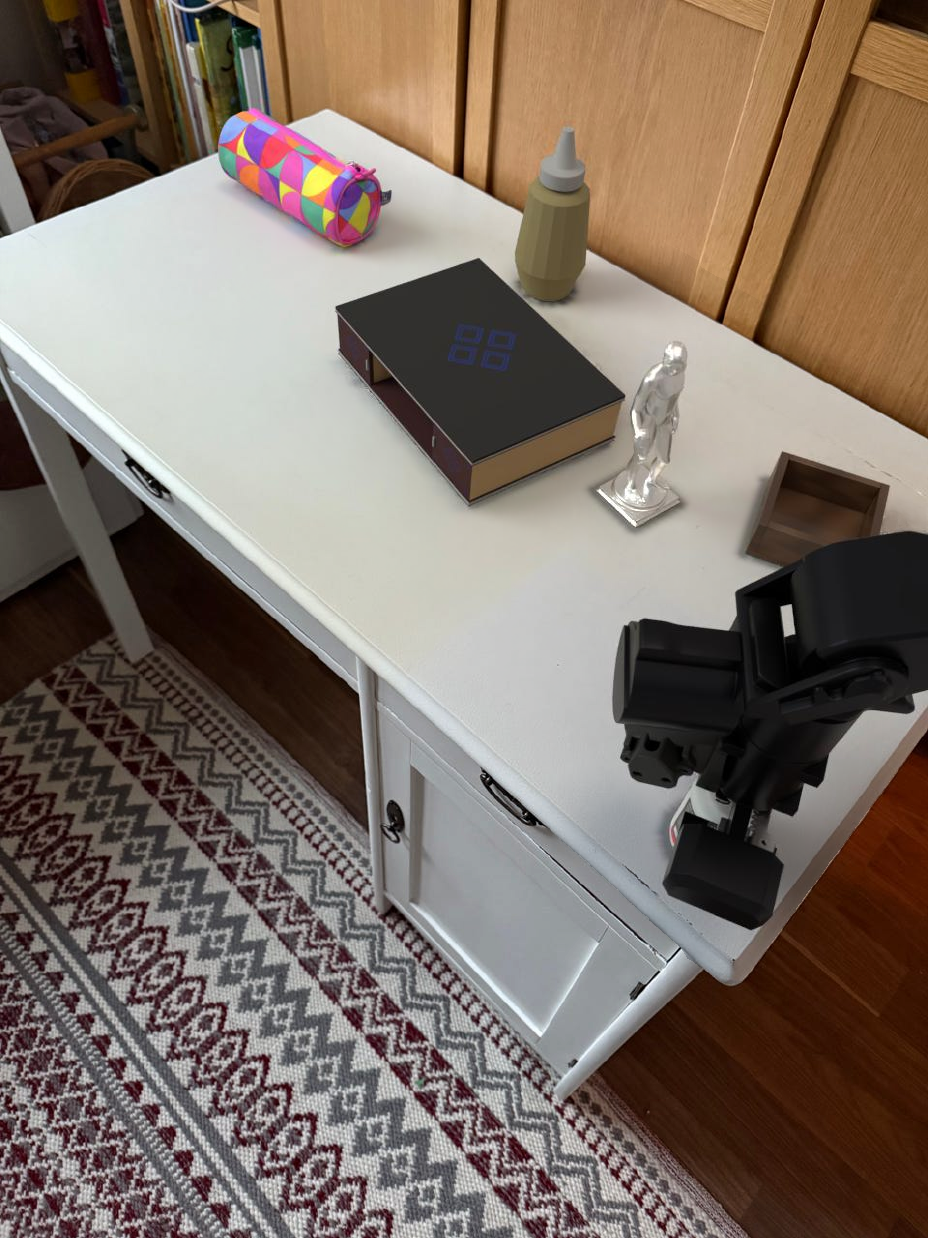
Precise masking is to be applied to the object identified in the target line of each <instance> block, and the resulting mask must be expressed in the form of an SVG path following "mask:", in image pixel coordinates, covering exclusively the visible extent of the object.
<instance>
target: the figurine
mask: <svg viewBox="0 0 928 1238" xmlns="http://www.w3.org/2000/svg"><path fill="white" fill-rule="evenodd" d="M662 359H663V361H661V362H659V363H656V364H654V365H652V366H650V368H649V369H648V370H647V371H646V373H645V374H644V376H643V377H642V380H641V381H640V384H639V387H638V389H637V391H636V393H635V395H634V397H633V401H632V404H631V407H630V411H629V417H630V424H631V428H632V430H633V431H632V432H633V433H634V439H633V448H634V451H633V455H632V456H631V457H630V459H629V460H628V463H627V465H626V469H625V470H622V471H621V472H619V473H618V474H617V475H616V476H615V477H614V478H612V479H610V480H609V481H607V482H605V483H603V484H601V485H599V487H598V488H596V489H595V491H596V492H597V493H598V494H599V495H600V496H601V497H602V498H603V499H604V500H605V501H606V502H607V503H608V504H609V505H611V506H612V507H613V508H614V510H616V512H618V513H619V514H620V515H621V516H622V517H623V518H624V519H626V520H627V521H628V522H629V523H630V524H631V525H632V526H633V527H634V528H638V527H640V526H641V525H643V524H645V523H647V522H648V521H650V520H652V519H654V518H655V517H657V516H659V515H661V514H662V513H664V512H666V511H668V510H669V509H671V508H674V507H675V506H676V505H678V504H680V503H681V501H680V500H679V499H680V497H679V496H678V495H677V494H675V492H674V491H672V490H671V487H672V486H671V485H670V484H669V483H667V482H666V481H664V479H663V478H662V477H661V476H660V474H661V473H662V472H663V470H664V469H665V467H666V466H667V465H669V463H670V462H671V452H672V446H673V445H672V444H673V435H674V434H676V432H677V429H678V425H679V419H680V408H679V399H680V396H681V393H682V392H683V389H684V388H685V382H686V381H685V379H686V374H685V372H686V370H687V367H688V366H687V365H688V363H687V361H688V350H687V348H686V346H685V344H684V342H682V341H679V340H672V341H670V342H669V343H668V344H667V345H666V346H665V348H664V352H663V357H662ZM652 447H653V448H654V451H655V455H656V456H655V457H654V458H653V459H652V461H651V462H650V463H651V464H650V468H649V469H648V468H646V467H645V466H644V465H643V463H645V462H646V461H647V459H648V455H649V453H650V452H651V449H652Z"/></svg>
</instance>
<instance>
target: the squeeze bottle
mask: <svg viewBox="0 0 928 1238" xmlns="http://www.w3.org/2000/svg"><path fill="white" fill-rule="evenodd" d="M575 133H576V132H575V128H574V127H572V126H569V125H565V126H564V127H562V129H561V132H560V134H559V138H558V140H557V143H556V147H555V149H554V152H553V154H550V155H548V156H546V157H544V158H543V159H542V160H541V162H540V169H539V176H537V177H535V178H534V179H533V180H532V181H531V182H530V184H529V186H528V191H527V194H526V195H527V196H526V200H525V205H524V210H523V214H522V218H521V223H520V228H519V231H518V235H517V236H518V237H517V241H516V246H515V250H514V262H515V266H516V270H517V275H518V278H519V281H520V282H519V283H520V286H521V289H522V290H523V291H524V293H525V294H526V295H528V296H530V297H531V298H533V299H536V300H539V301H544V302H555V301H559V300H560V301H561V300H563V299H564V298H566V297H567V296H569V294H570V293H571V291H572V290H573V288H574V286H575V284H576V282H577V281H578V280H579V277H580V276H581V274H582V272H583V270H584V269H585V266H586V264H587V263H586V262H587V249H588V234H589V219H590V205H591V189H590V187H589V186H588V185H587V184H586V182H585V175H586V164H585V163H584V162H583V161H582V160H581V159H580V158H578V157H577V153H576V135H575Z"/></svg>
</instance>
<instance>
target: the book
mask: <svg viewBox="0 0 928 1238" xmlns="http://www.w3.org/2000/svg"><path fill="white" fill-rule="evenodd" d="M334 312H335V313H336V315H337V316H336V317H337V329H338V343H339V348H338V349H337V350H338V353H337V354H338V355H339V356H340V357H341V359H342V360H343V361H344V362H345V363H346V364H347V366H348V367H349V368H350V369H351V371H352V372H353V373H354V374H355V375H356V376H357V377H358V379H359V380H360V381H361V382H362V383H363V384H364V386H365V387H366V388H367V389H368V390H369V391H370V393H371V394H372V395H373V396H374V397H375V399H376V401H378V402H379V404H381V406H382V407H383V409H385V411H386V412H387V413H388V414H389V415H390V416H391V418H392V419H393V420H394V421H395V422H396V423H397V424H398V426H399V427H400V428H401V429H402V430H403V431H404V433H405V434H406V435H407V436H408V437H409V439H410V440H411V441H412V443H414V445H415V446H416V448H418V449H419V451H420V452H422V455H424V456H425V458H426V459H427V460H428V461H429V462H430V463H431V465H432V466H433V467H434V468H435V469H436V470H437V471H438V473H439V475H441V476H442V477H443V479H444V480H445V481H446V482H447V484H449V486H450V487H451V488H452V489H453V490H454V492H455V493H456V494H457V496H459V498H461V500H463V502H464V503H465V504H466V505H467V507H468V508H469V507H471V506H473V505H476V504H478V503H480V502H482V501H485V500H487V499H489V498H491V497H493V496H496V495H498V494H500V493H502V492H505V491H507V490H509V489H512V488H513V487H516V486H519V485H520V484H523V483H524V482H527V481H529V480H532V479H534V478H536V477H539V476H540V475H543V474H544V473H547V472H549V471H551V470H553V469H555V468H558V467H560V466H563V465H564V464H567V463H569V462H571V461H573V460H575V459H578V458H580V457H583V456H584V455H586V454H589V453H591V452H593V451H595V450H598V449H600V448H603V447H604V446H607V445H608V444H611V443H613V442H616V435H615V431H616V428H617V424H618V420H619V416H620V412H621V407H622V404H623V402H625V401H626V394H625V393H624V391H622V390H621V389H620V388H619V387H617V386H616V385H615V383H613V382H612V381H611V379H609V378H608V377H607V376H606V375H605V374H604V373H602V372H601V370H599V368H598V367H596V366H595V365H594V364H593V362H591V361H590V360H589V359H588V358H587V357H586V356H585V355H583V354H582V353H581V352H580V351H579V350H578V349H577V348H576V347H575V346H574V345H573V344H572V343H570V341H569V340H568V339H567V338H565V337H564V336H563V335H562V333H560V332H559V331H558V330H557V329H555V327H554V326H552V324H550V323H549V322H548V321H547V320H546V319H545V318H544V317H543V316H542V315H541V314H539V312H538V311H537V310H536V309H534V308H533V306H531V305H530V304H529V303H528V302H527V301H526V300H525V299H523V297H521V295H520V294H518V293H517V292H516V291H515V290H514V289H513V288H512V287H511V286H510V285H509V284H507V282H505V280H503V279H502V278H501V277H500V276H499V275H498V274H497V273H496V272H495V271H494V270H493V269H491V267H490V266H488V264H486V263H485V262H484V261H483V260H482V259H481V258H480V257H477V258H474V259H471V260H468V261H465V262H462V263H459V264H456V265H452V266H450V267H447V268H444V269H441V270H438V271H436V272H433V273H430V274H429V273H428V274H427V275H424V276H421V277H417V278H414V279H412V280H409V281H406V282H403V283H400V284H398V285H394V286H391V287H389V288H385V289H381V290H379V291H376V292H373V293H370V294H368V295H364V296H362V297H358V298H356V299H353V300H349V301H346V302H344V303H340V304H338V305H335V306H334Z"/></svg>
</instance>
